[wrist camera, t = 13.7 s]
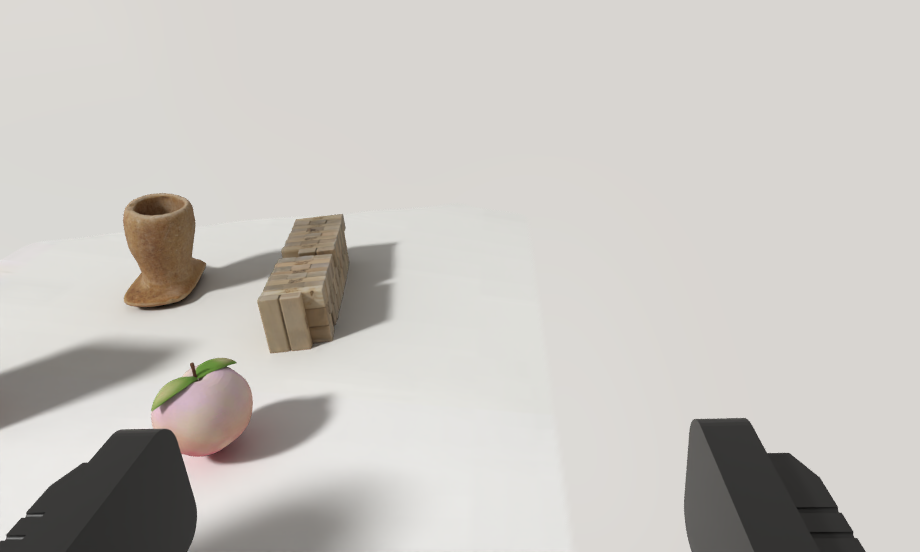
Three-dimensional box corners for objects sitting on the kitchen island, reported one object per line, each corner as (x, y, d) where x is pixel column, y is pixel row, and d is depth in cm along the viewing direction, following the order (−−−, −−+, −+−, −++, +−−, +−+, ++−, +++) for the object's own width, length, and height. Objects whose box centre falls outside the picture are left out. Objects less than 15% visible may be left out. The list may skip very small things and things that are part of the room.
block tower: (332, 355, 85) (352, 258, 111) (321, 295, 81) (344, 210, 107) (269, 361, 84) (304, 263, 111) (254, 301, 81) (294, 214, 107)
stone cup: (200, 308, 98) (173, 209, 92) (117, 316, 98) (84, 218, 92) (226, 267, 112) (205, 178, 106) (154, 274, 111) (128, 186, 105)
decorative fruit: (219, 491, 61) (192, 399, 57) (151, 473, 65) (121, 384, 60) (282, 429, 69) (262, 344, 65) (219, 416, 72) (196, 334, 68)
